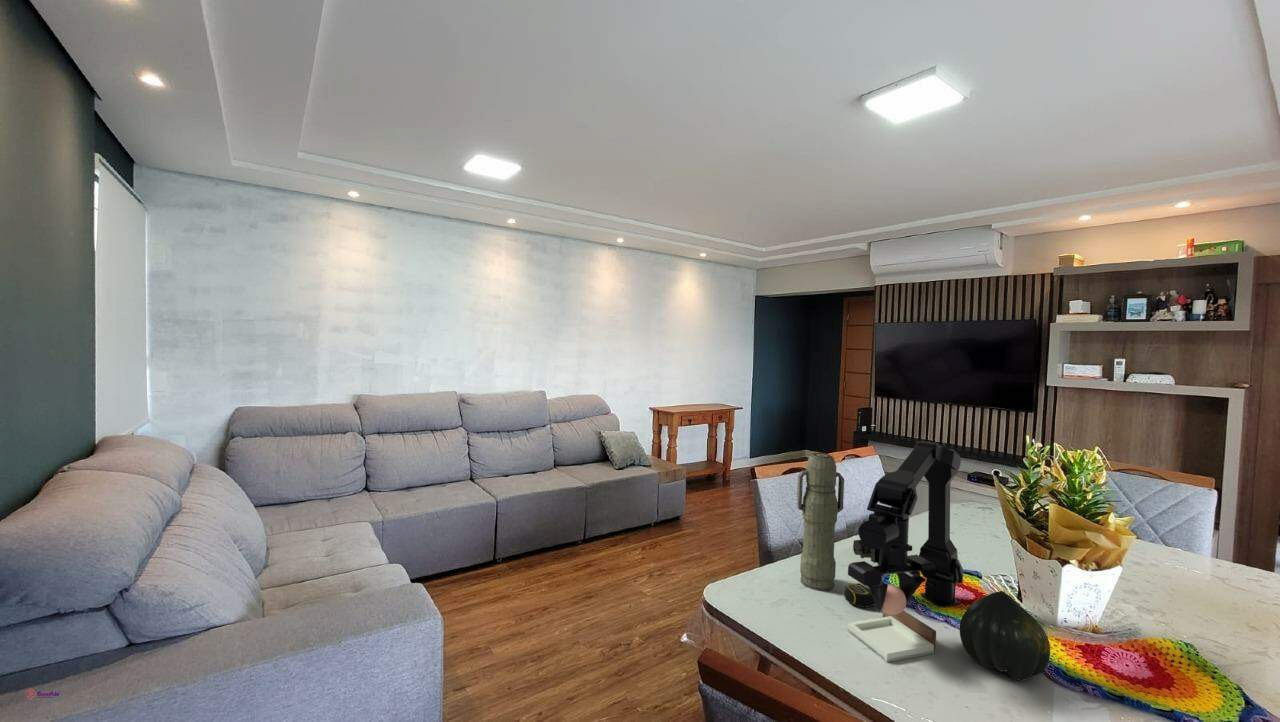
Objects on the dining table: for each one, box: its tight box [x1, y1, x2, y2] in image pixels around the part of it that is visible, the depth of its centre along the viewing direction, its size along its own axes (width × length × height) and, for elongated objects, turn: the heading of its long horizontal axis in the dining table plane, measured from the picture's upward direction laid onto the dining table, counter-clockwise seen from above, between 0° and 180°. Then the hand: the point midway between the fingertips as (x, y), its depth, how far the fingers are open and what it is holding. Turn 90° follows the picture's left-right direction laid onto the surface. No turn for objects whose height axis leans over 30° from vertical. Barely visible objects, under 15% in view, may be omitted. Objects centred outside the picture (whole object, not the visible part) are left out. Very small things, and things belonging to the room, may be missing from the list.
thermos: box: [796, 452, 845, 592], centre depth 141 cm, size 9×12×35 cm
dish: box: [846, 616, 935, 663], centre depth 114 cm, size 12×12×2 cm
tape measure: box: [843, 582, 875, 608], centre depth 131 cm, size 7×7×4 cm
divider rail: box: [882, 609, 937, 651], centre depth 118 cm, size 1×14×4 cm, turn 17°
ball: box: [881, 583, 907, 614], centre depth 114 cm, size 6×6×6 cm
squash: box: [959, 590, 1051, 681], centre depth 106 cm, size 14×15×15 cm
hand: (890, 608), depth 114 cm, fingers closed on ball, 6 cm apart
